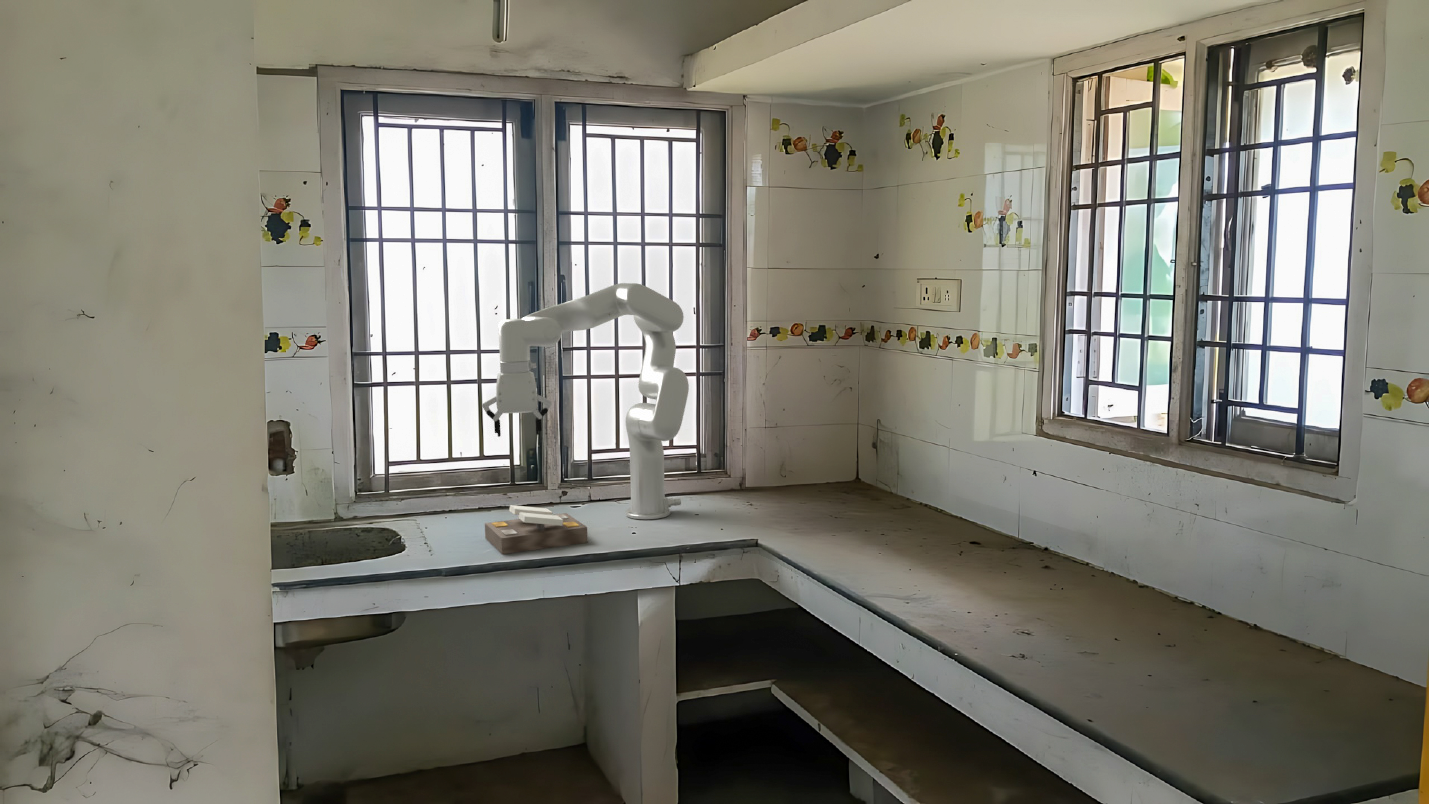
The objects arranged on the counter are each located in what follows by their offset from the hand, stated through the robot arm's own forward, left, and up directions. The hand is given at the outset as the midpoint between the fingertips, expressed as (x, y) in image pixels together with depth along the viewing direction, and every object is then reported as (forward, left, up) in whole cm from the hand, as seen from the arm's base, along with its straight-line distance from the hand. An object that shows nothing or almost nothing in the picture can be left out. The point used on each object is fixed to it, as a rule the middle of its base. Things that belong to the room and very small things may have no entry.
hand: (518, 434), depth 265 cm
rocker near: (-3, +8, -22) cm, 23 cm away
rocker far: (-3, -1, -22) cm, 22 cm away
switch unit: (-3, +3, -27) cm, 28 cm away
